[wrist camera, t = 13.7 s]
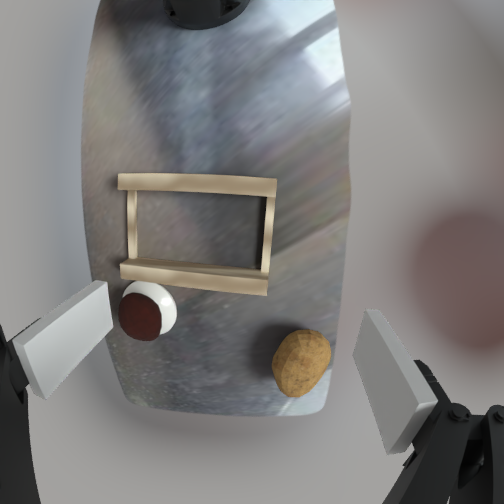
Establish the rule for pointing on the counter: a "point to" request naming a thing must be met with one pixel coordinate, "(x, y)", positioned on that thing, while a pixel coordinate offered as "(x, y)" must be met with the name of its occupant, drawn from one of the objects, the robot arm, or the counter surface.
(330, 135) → the counter surface
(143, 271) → the cradle
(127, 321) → the dark brown rounded piece
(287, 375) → the potato
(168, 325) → the plate
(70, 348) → the robot arm
